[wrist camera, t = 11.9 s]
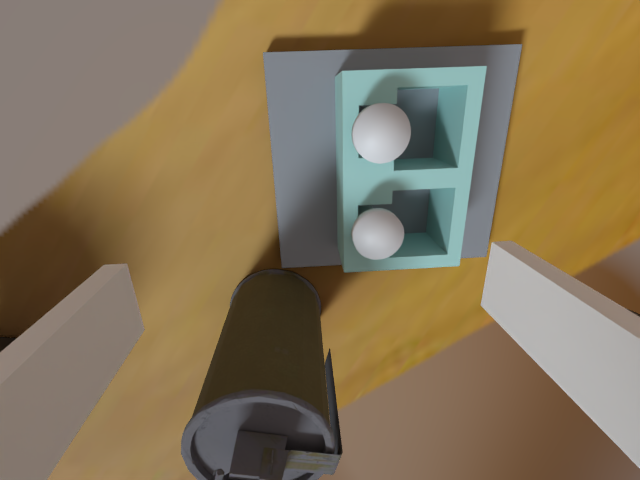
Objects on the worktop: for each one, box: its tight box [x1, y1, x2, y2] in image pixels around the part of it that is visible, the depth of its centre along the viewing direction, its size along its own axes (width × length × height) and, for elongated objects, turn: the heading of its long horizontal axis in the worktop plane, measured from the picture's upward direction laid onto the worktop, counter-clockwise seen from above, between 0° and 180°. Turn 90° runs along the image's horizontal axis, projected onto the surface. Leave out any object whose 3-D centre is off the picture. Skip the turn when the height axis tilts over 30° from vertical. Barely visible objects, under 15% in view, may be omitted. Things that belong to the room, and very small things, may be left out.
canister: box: [181, 269, 342, 480], centre depth 30 cm, size 11×10×20 cm
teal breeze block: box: [335, 66, 487, 272], centre depth 29 cm, size 10×16×6 cm, turn 2°
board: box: [263, 44, 522, 268], centre depth 29 cm, size 22×20×9 cm
